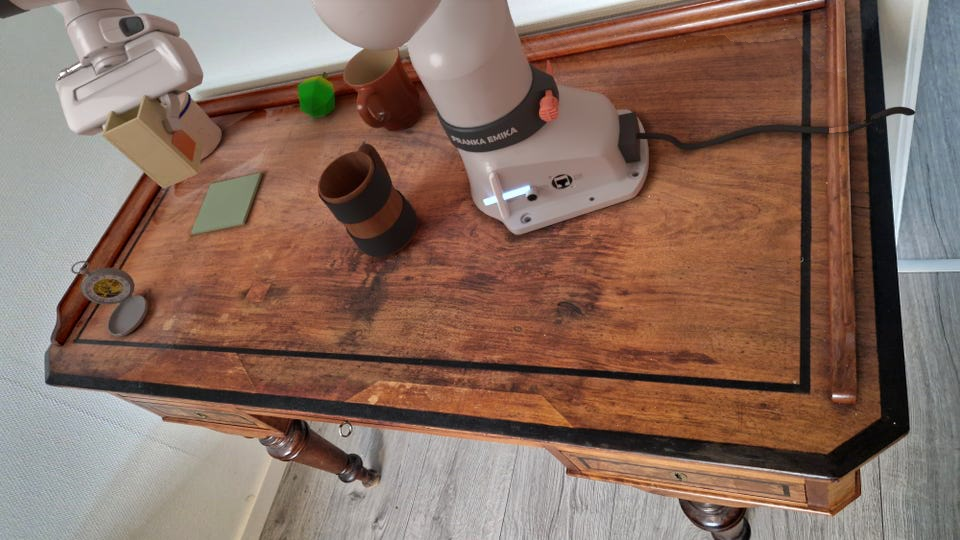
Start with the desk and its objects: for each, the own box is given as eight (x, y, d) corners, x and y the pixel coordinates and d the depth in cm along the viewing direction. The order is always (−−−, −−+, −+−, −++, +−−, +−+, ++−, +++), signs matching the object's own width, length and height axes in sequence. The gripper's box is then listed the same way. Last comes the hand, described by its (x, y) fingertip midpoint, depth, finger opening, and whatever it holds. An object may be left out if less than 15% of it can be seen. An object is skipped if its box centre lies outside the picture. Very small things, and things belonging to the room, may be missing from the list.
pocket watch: (127, 344, 92) (67, 309, 85) (99, 325, 97) (41, 291, 90) (165, 297, 95) (111, 259, 88) (137, 281, 100) (83, 244, 92)
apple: (296, 90, 99) (310, 50, 104) (286, 115, 104) (300, 77, 109) (340, 109, 102) (352, 70, 106) (329, 133, 107) (341, 95, 111)
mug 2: (428, 183, 88) (388, 121, 79) (415, 256, 81) (369, 197, 72) (373, 193, 91) (328, 134, 82) (355, 264, 84) (304, 209, 76)
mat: (262, 174, 103) (260, 172, 103) (244, 224, 98) (242, 222, 97) (212, 185, 107) (210, 183, 106) (192, 234, 101) (190, 233, 101)
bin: (204, 145, 96) (147, 89, 87) (199, 173, 92) (139, 117, 84) (169, 161, 97) (110, 107, 89) (163, 189, 93) (101, 135, 85)
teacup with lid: (231, 123, 116) (185, 72, 107) (212, 161, 111) (162, 111, 102) (181, 133, 120) (132, 85, 111) (160, 170, 116) (108, 123, 107)
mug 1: (386, 100, 102) (353, 47, 94) (436, 92, 99) (405, 36, 91) (364, 157, 96) (327, 107, 88) (416, 151, 93) (382, 98, 85)
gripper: (32, 72, 87) (76, 170, 89) (157, 8, 83) (200, 111, 85) (69, 78, 94) (109, 169, 95) (186, 19, 89) (227, 115, 91)
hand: (153, 141), depth 90 cm, fingers closed on bin, 6 cm apart
